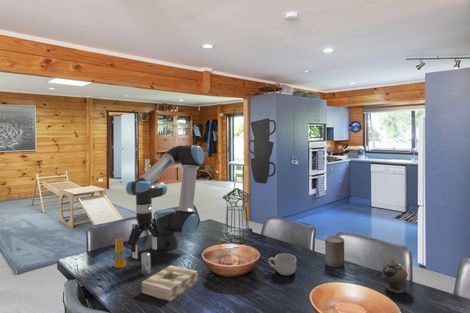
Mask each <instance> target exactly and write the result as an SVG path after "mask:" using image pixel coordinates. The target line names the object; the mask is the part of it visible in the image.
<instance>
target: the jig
mask: <svg viewBox="0 0 470 313" xmlns="http://www.w3.org/2000/svg"><path fill="white" fill-rule="evenodd" d="M198 278H199V277H198V271H197V270H195V269H194V270H193V269H188V268H185V267H181V266H177V265H172V264H171V265H169V266H167V267H166V268H163V269H162V270H160V271H158V272H157V273H155V274H153V275H151V276H149V277H148V278H146V279H144V280H143V281H141V293H142V294H145V295H148V296H152V297H154V298H158V299H160V300H161V299H162V300H163V301H164V300H165V301H168V302H172V301H173V300H174V299H176V298H177V297H178V296H180V295H181V294H182V293H184V292H185V291H187V290H188V289H189V288H190V287H192V286H194V285H195V284H196V283H198V280H199V279H198Z"/></svg>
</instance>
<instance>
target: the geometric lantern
mask: <svg viewBox="0 0 470 313" xmlns="http://www.w3.org/2000/svg"><path fill="white" fill-rule="evenodd" d="M237 196H238V197H237ZM250 197H251V194H249V193H247V192H246V191H244V190H242V189H241V188H239V187H235V188H234V189H232V190H231V191H229V192H228V193H227V194H225V195H223V196H222V197H221V198H222V199H223V200H225V202H227V203H229V204H228V205H226V213H225V214H226V217H225V228H226V229H225V231H224V232H225V234H224V235H225V236H226V237H227V238H229V243H232V240H239V241H233V243H235V244H242V243H243V242H245V240H246V237H247V236H248V235H249V234H250V226H249V219H248V218H249V216H248V206H246V205H245V203H246V204H248V203H249V199H250ZM232 200H233V202H231V201H232ZM235 200H236V201H235ZM239 201H242V206H239V205H237V204H238V202H239ZM232 204H234V205H232ZM236 207H237V210H238V221H239V222H238V227H239V228H238V232H239V233H238V234H239V235H236V232H237V229H236ZM230 208H231V209H230ZM244 210H245V228H246V230H244V229H245V228H244V216H243V211H244ZM229 211H233V213H230V214H231V215H230V217H231V218H230V219H231V220H230V230H229ZM240 211H241V212H240ZM240 213H241V214H240ZM233 214H234V217H233ZM240 216H241V217H240ZM233 218H234V220H233ZM233 222H234V223H233ZM241 223H242V230H241ZM233 224H234V225H233ZM233 226H234V229H233V230H232V228H233ZM230 233H231V234H232V235H230ZM241 233H242V235H240V234H241Z"/></svg>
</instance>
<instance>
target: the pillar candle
mask: <svg viewBox="0 0 470 313" xmlns="http://www.w3.org/2000/svg"><path fill="white" fill-rule="evenodd" d="M324 240H325V241H324V242H325V243H324V246H325V250H324V252H325V265H326V266H328V267H330V268H335V269H336V268H338V269H339V268H342V267H344V266H345V239H344V238H343V237H341V236H337V235H336V236H334V235H333V236H332V235H330V236H326V237H325V238H324Z"/></svg>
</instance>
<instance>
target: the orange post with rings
mask: <svg viewBox="0 0 470 313" xmlns="http://www.w3.org/2000/svg"><path fill="white" fill-rule="evenodd" d="M114 245H115V247H114V251H112V250H111V251H109V252H107V255H106V256H107V258H108V259H109V260H113V267H114V268H115V269H119V268H120V269H121V268H124V267H125V266H126V265H127V260H126V258H129V257H130V256H132V251H131V249H128V248H126V247H125V246H124V238H123V237H116V238H114ZM127 251H128V252H129V254H127ZM111 254H113V255H112V257H110V255H111Z"/></svg>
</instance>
